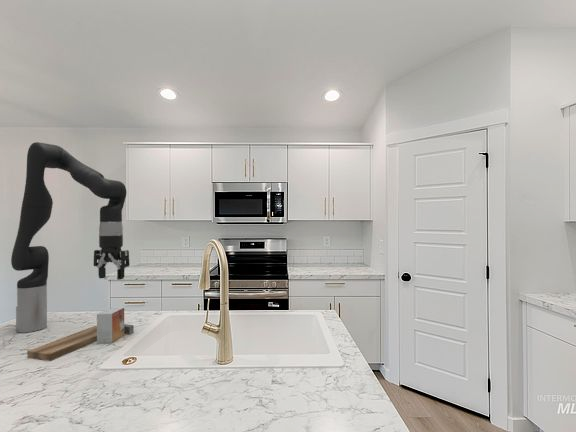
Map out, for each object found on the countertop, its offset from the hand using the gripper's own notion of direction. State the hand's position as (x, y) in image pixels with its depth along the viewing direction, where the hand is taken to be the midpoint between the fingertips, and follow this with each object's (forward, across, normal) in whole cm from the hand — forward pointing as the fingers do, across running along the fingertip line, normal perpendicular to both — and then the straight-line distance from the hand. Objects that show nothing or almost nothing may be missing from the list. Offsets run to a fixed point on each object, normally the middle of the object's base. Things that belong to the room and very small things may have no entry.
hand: (111, 278), depth 111 cm
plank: (+22, -9, -7) cm, 25 cm away
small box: (+22, 0, 0) cm, 22 cm away
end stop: (+22, 0, +6) cm, 23 cm away
